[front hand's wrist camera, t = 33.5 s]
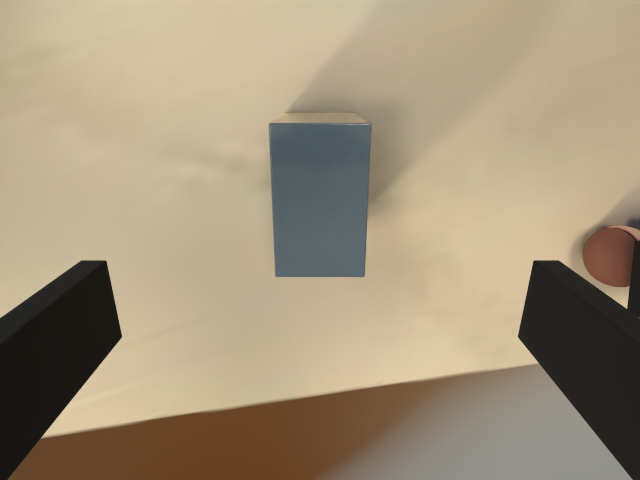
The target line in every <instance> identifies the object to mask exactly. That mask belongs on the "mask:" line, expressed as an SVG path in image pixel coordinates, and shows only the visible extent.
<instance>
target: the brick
mask: <svg viewBox="0 0 640 480" xmlns="http://www.w3.org/2000/svg"><path fill="white" fill-rule="evenodd" d="M269 142H270V165H271V188H272V211H273V234H274V256H275V276H276V277H364V276H365V258H366V236H367V213H368V190H369V167H370V144H371V123H370V122H368V121H367V120H365V119H364V118H362V117H360V116H359V115H357V114H356V113H284V114H283V115H281V116H280V117H278V118H277V119H275V120H273V121H272V122H270V123H269Z"/></svg>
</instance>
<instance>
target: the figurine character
mask: <svg viewBox="0 0 640 480" xmlns="http://www.w3.org/2000/svg"><path fill="white" fill-rule="evenodd" d="M583 261H584V265H585V267H586V269H587V270H588V272H589V273H590V274H591V275H592V276H593V277H594V278H595V279H596V280H598V281H600V282H602V283H604V284H607V285H610V286H615V287H627V286H630V289H629V298H628V308H627V310H629V311H630V312H632V313H633V314H634V315H636V316H637V317H639V318H640V230H638V229H635V228H632V227H628V226H610V227H606V228H603V229H601V230H599V231H597V232H596V233H594V234H593V235H592V236H591V237H590V238H589V239H588V241H587V242H586V244H585V246H584V250H583Z"/></svg>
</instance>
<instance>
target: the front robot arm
mask: <svg viewBox="0 0 640 480" xmlns="http://www.w3.org/2000/svg"><path fill="white" fill-rule="evenodd" d="M121 338H122V334H121V329H120V325H119V320H118V315H117V310H116V305H115V300H114V295H113V291H112V286H111V281H110V276H109V271H108V266H107V261H80V262H79V263H77V264H76V265H74V266H73V267H72V268H70V269H69V270H67V271H66V272H65V273H63V274H62V275H60V276H59V277H58V278H56V279H55V280H53V281H52V282H51V283H49V284H48V285H46V286H45V287H44V288H42V289H41V290H39V291H38V292H37V293H35V294H34V295H32V296H31V297H29V298H28V299H27V300H25V301H24V302H22V303H21V304H20V305H18V306H17V307H15V308H14V309H13V310H11V311H10V312H8V313H7V314H6V315H4V316H3V317H1V318H0V480H7V479H8V478H9V477H10V476H11V474H12V473H13V472H14V471H15V469H16V468H17V467H18V466H19V464H20V463H21V462H22V461H23V459H24V458H25V457H26V456H27V454H28V453H29V452H30V451H31V449H32V448H33V447H34V446H35V445H36V443H37V442H38V441H39V440H40V438H41V437H42V436H43V435H44V433H45V432H46V431H47V430H48V428H49V427H50V426H51V425H52V423H53V422H54V421H55V420H56V418H57V417H58V416H59V415H60V413H61V412H62V411H63V410H64V408H65V407H66V406H67V405H68V403H69V402H70V401H71V400H72V399H73V397H74V396H75V395H76V394H77V392H78V391H79V390H80V389H81V387H82V386H83V385H84V384H85V382H86V381H87V380H88V379H89V377H90V376H91V375H92V374H93V372H94V371H95V370H96V369H97V367H98V366H99V365H100V364H101V362H102V361H103V360H104V359H105V357H106V356H107V355H108V354H109V353H110V351H111V350H112V349H113V348H114V346H115V345H116V344H117V343H118V341H119V340H120V339H121ZM518 338H519V339H520V340H521V341H522V343H523V344H524V345H525V346H526V348H527V349H528V350H529V351H530V353H531V354H532V355H533V356H534V357H535V359H536V360H537V361H538V362H539V364H540V365H541V366H542V367H543V369H544V370H545V371H546V372H547V374H548V375H549V376H550V377H551V379H552V380H553V381H554V382H555V384H556V385H557V386H558V387H559V389H560V390H561V391H562V392H563V394H564V395H565V396H566V397H567V399H568V400H569V401H570V402H571V403H572V405H573V406H574V407H575V408H576V410H577V411H578V412H579V413H580V415H581V416H582V417H583V418H584V420H585V421H586V422H587V423H588V425H589V426H590V427H591V428H592V430H593V431H594V432H595V433H596V435H597V436H598V437H599V438H600V440H601V441H602V442H603V443H604V444H605V446H606V447H607V448H608V449H609V451H610V452H611V453H612V454H613V456H614V457H615V458H616V459H617V461H618V462H619V463H620V464H621V466H622V467H623V468H624V469H625V471H626V472H627V473H628V474H629V476H630V477H631V478H632V479H633V480H640V318H639V317H637V316H636V315H634V314H633V313H632V312H630V311H629V310H627V309H626V308H625V307H623V306H622V305H620V304H619V303H618V302H616V301H615V300H613V299H612V298H611V297H609V296H608V295H606V294H605V293H603V292H602V291H601V290H599V289H598V288H596V287H595V286H594V285H592V284H591V283H589V282H588V281H587V280H585V279H584V278H582V277H581V276H580V275H578V274H577V273H575V272H574V271H573V270H571V269H570V268H568V267H567V266H566V265H564V264H563V263H561V262H560V261H533V266H532V271H531V276H530V281H529V286H528V291H527V295H526V300H525V305H524V310H523V315H522V320H521V325H520V329H519V334H518Z"/></svg>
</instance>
